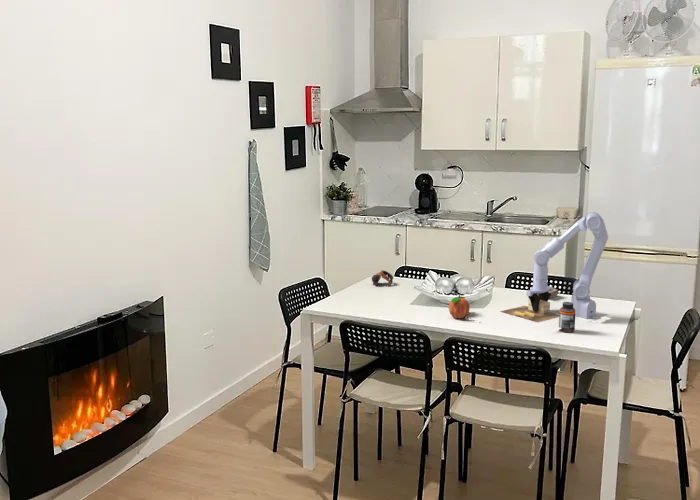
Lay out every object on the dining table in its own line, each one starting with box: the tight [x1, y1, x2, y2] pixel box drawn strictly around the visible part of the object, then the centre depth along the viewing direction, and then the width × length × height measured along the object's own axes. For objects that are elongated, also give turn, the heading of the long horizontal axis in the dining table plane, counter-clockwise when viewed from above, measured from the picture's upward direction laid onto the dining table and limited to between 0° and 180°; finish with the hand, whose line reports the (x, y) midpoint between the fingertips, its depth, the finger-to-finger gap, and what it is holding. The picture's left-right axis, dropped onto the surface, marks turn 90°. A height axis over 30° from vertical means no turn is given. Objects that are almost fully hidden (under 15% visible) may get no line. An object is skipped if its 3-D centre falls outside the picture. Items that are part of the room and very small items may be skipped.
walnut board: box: [499, 305, 560, 323], centre depth 291 cm, size 20×16×2 cm
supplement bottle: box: [558, 301, 576, 334], centre depth 271 cm, size 6×6×11 cm
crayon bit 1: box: [514, 311, 526, 316], centre depth 289 cm, size 5×1×1 cm, turn 36°
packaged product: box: [538, 287, 562, 302], centre depth 319 cm, size 18×5×10 cm
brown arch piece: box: [371, 269, 394, 287], centre depth 347 cm, size 12×10×8 cm
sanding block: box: [527, 299, 551, 315], centre depth 293 cm, size 8×4×5 cm, turn 36°
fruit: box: [448, 293, 470, 319], centre depth 289 cm, size 9×10×10 cm
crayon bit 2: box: [524, 312, 536, 316], centre depth 289 cm, size 5×1×1 cm, turn 36°
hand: (538, 310), depth 293 cm, fingers open, 4 cm apart
